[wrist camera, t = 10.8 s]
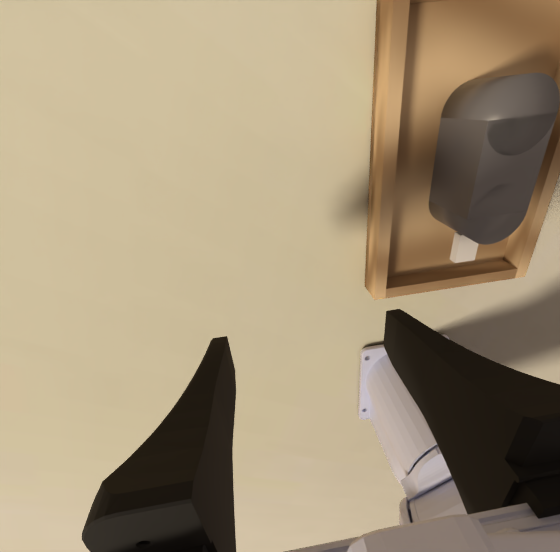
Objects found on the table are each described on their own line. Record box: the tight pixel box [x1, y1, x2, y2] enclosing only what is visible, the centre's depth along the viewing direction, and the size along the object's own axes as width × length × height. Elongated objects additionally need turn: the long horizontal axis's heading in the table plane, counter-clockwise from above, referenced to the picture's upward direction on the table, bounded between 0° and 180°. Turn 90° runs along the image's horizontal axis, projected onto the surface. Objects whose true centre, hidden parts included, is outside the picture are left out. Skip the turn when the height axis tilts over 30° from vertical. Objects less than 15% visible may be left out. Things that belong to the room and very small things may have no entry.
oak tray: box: [365, 0, 560, 300], centre depth 19 cm, size 18×12×2 cm, turn 6°
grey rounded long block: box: [429, 73, 560, 263], centre depth 19 cm, size 11×4×4 cm, turn 5°
